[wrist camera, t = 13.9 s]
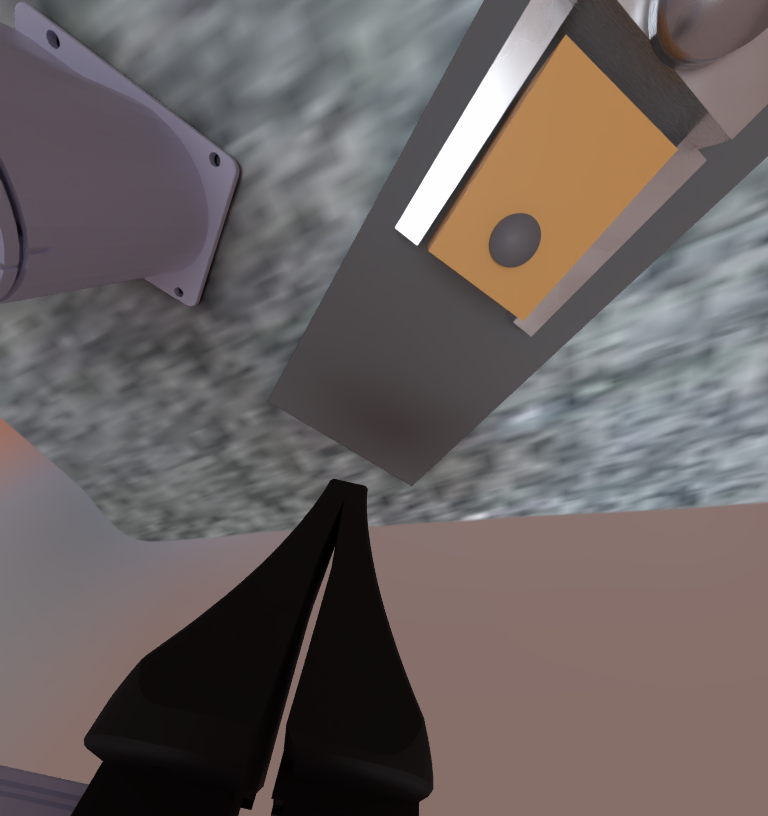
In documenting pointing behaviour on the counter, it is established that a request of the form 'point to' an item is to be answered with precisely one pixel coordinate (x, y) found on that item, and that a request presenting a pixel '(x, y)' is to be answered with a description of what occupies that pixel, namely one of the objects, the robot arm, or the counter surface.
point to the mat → (456, 293)
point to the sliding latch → (642, 84)
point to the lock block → (549, 182)
